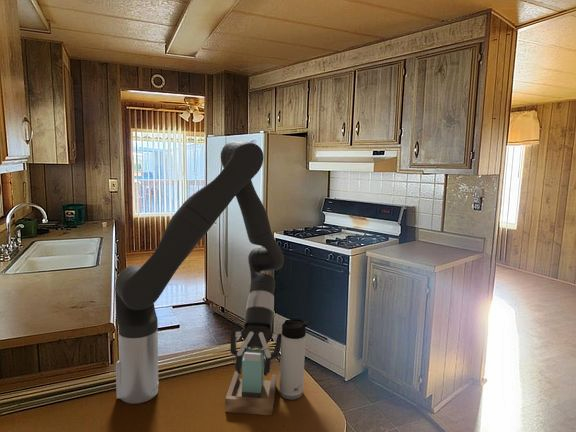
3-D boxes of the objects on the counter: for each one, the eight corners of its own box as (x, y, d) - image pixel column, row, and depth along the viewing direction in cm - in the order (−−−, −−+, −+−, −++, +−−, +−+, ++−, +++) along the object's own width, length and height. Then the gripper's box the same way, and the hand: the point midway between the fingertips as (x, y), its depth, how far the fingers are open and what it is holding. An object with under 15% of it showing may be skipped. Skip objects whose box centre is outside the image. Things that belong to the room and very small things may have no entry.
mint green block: (241, 397, 100) (242, 353, 98) (245, 383, 106) (246, 342, 104) (260, 398, 100) (262, 355, 98) (263, 385, 106) (264, 343, 104)
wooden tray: (225, 411, 97) (225, 398, 96) (234, 383, 109) (234, 371, 108) (271, 415, 96) (272, 402, 96) (276, 386, 108) (276, 374, 108)
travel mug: (301, 401, 102) (305, 328, 99) (276, 397, 103) (279, 324, 100) (305, 388, 108) (309, 318, 105) (281, 384, 109) (284, 315, 106)
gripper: (232, 303, 107) (221, 367, 97) (285, 307, 107) (280, 372, 97) (235, 314, 113) (225, 375, 103) (285, 317, 113) (281, 379, 103)
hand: (252, 373), depth 100 cm, fingers open, 6 cm apart
